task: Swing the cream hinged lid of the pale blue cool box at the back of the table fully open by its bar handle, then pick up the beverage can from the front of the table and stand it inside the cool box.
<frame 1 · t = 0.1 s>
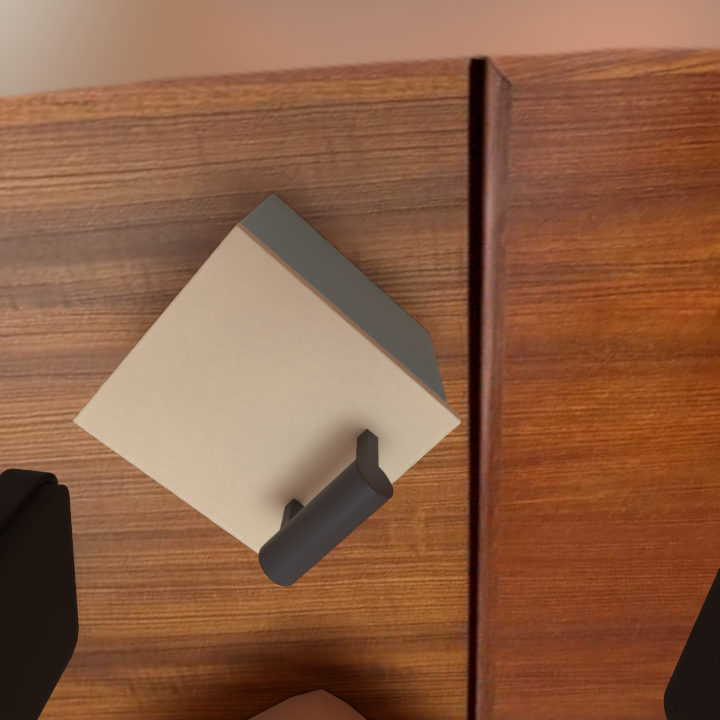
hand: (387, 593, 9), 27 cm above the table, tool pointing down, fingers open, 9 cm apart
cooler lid: (258, 444, 25), point 12 cm above the table, hinge at 0.0°
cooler: (287, 338, 36), on the table
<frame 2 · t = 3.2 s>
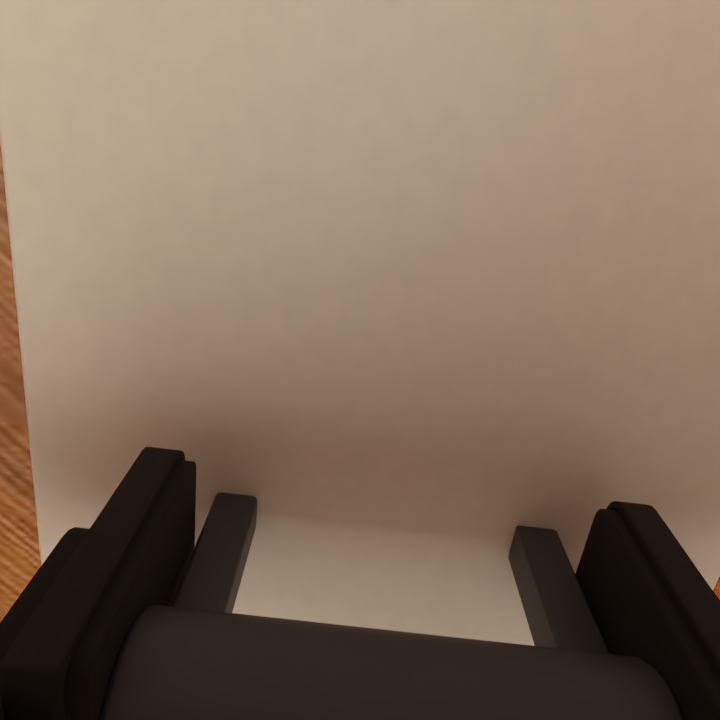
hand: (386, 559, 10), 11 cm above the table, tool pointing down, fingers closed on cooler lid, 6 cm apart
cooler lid: (433, 363, 7), point 12 cm above the table, hinge at 0.0°, touching gripper
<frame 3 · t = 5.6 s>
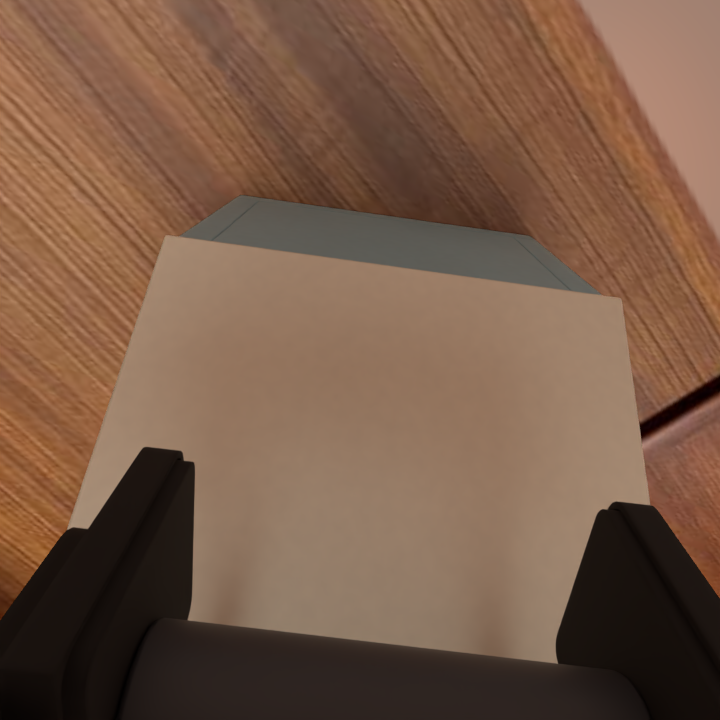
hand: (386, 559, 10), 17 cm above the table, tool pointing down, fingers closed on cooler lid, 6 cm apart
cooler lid: (388, 479, 11), point 16 cm above the table, hinge at 52.2°, touching gripper
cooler: (366, 350, 27), on the table
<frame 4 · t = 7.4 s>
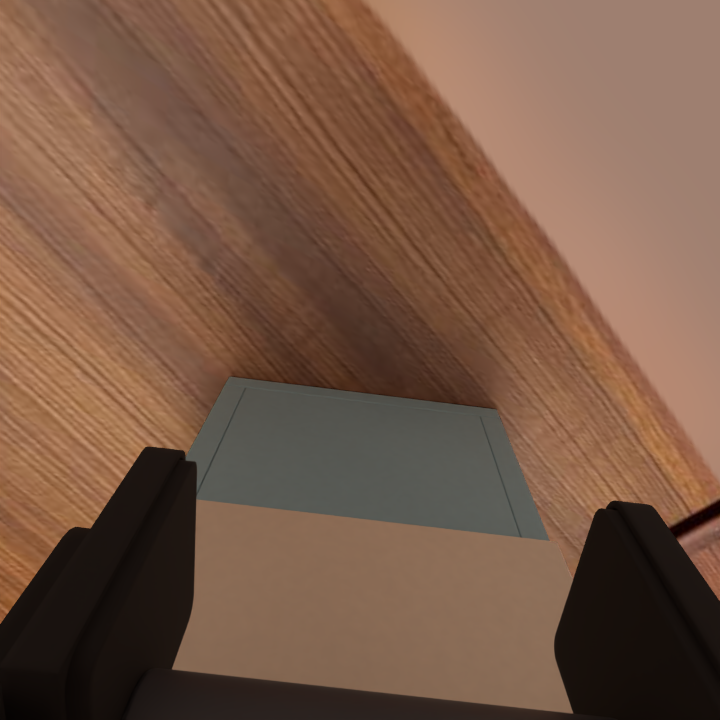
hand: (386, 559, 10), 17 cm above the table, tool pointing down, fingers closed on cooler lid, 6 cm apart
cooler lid: (365, 640, 11), point 16 cm above the table, hinge at 90.4°, touching gripper
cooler: (348, 503, 29), on the table
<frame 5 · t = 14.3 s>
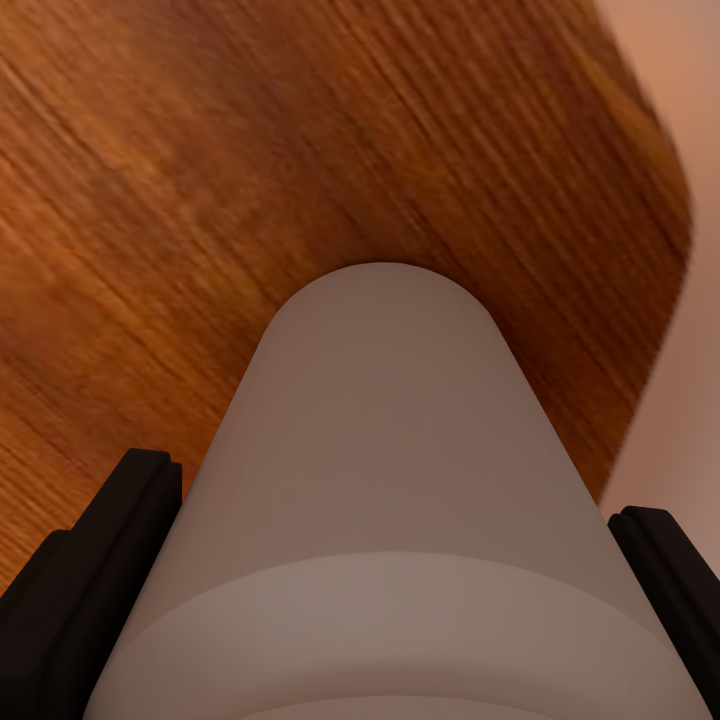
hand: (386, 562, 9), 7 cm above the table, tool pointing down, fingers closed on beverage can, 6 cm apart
beverage can: (380, 372, 16), on the table, touching gripper
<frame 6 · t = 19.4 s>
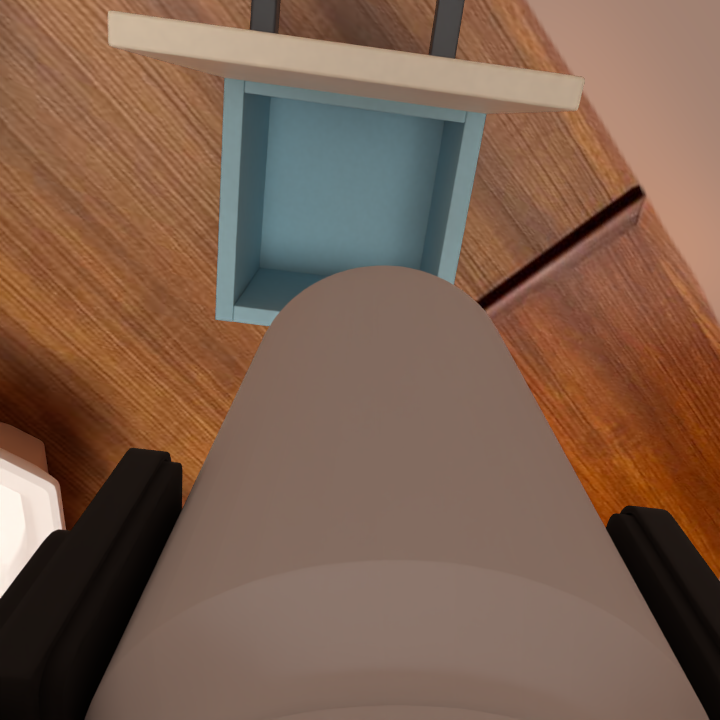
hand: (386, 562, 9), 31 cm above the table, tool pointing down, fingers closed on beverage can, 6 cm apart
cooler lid: (362, 0, 20), point 16 cm above the table, hinge at 91.0°
beverage can: (380, 375, 16), point 24 cm above the table, touching gripper
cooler: (348, 194, 38), on the table
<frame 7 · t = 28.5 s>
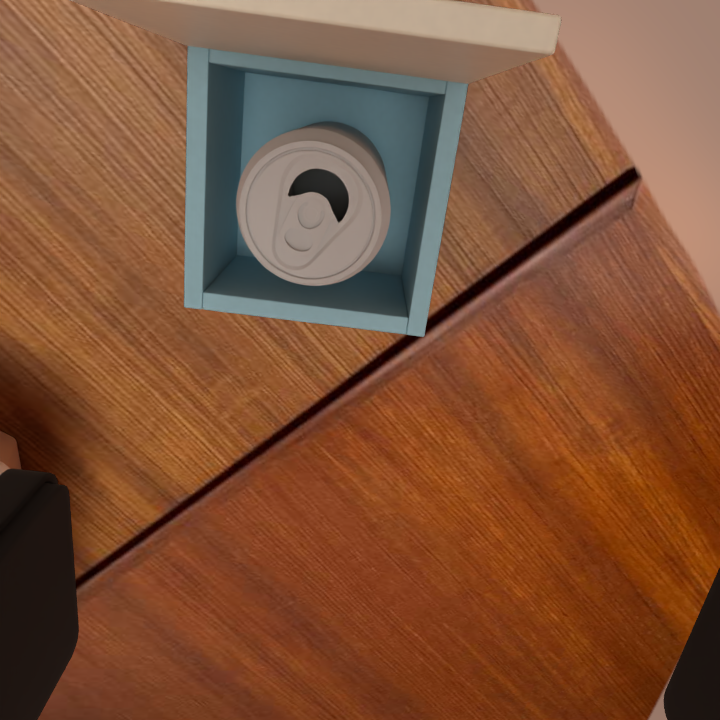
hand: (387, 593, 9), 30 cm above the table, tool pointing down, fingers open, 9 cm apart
beverage can: (330, 180, 35), point 1 cm above the table, touching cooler
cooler: (329, 178, 36), on the table
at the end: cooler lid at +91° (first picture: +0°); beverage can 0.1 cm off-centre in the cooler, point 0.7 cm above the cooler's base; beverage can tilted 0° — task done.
